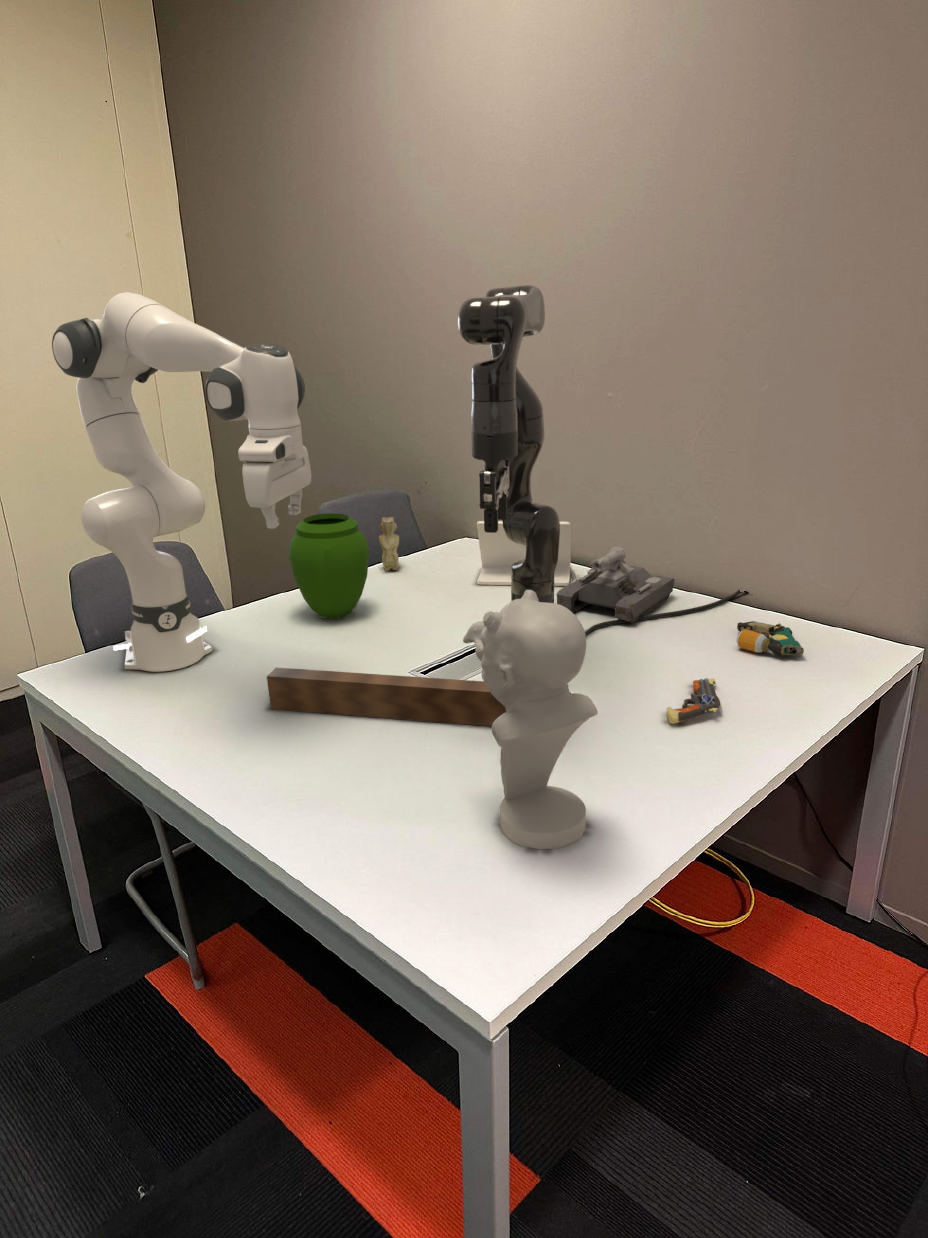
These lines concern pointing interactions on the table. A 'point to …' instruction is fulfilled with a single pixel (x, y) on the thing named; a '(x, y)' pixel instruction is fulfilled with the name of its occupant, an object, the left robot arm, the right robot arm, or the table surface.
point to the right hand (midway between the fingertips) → (496, 525)
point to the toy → (617, 588)
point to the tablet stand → (516, 556)
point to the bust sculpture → (534, 714)
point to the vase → (329, 563)
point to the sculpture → (389, 543)
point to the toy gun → (696, 702)
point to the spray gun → (767, 638)
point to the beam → (383, 696)
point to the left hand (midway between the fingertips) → (284, 520)
